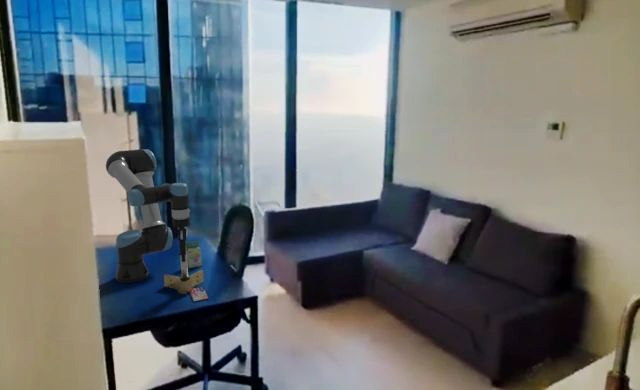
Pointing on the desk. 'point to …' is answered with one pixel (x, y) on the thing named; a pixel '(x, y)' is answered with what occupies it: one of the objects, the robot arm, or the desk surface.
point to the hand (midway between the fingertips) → (184, 266)
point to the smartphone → (199, 294)
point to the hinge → (183, 282)
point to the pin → (184, 271)
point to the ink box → (193, 255)
